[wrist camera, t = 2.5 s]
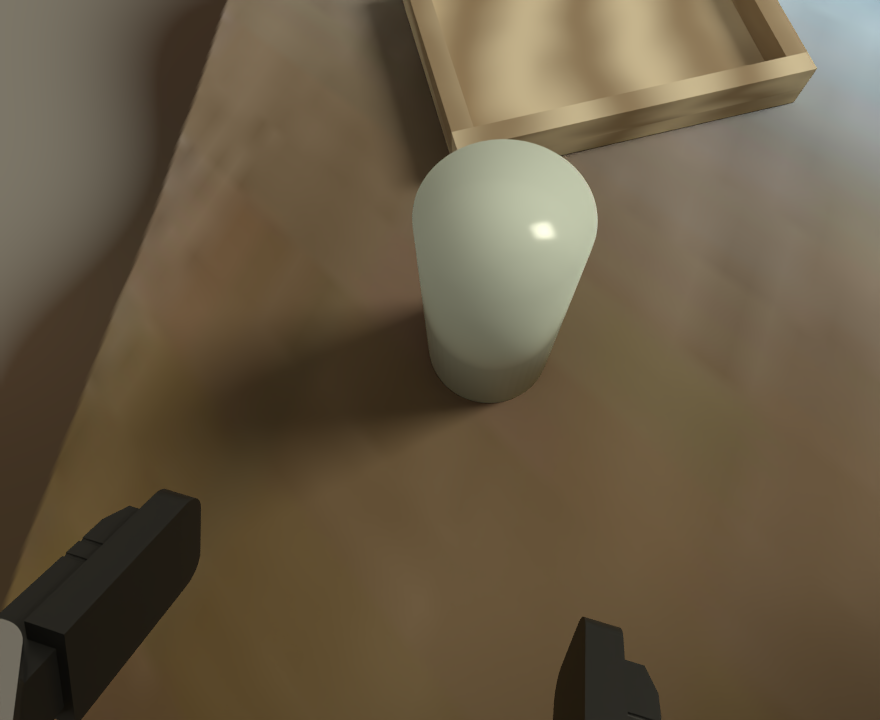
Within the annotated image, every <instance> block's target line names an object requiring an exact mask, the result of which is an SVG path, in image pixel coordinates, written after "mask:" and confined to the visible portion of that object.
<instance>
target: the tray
mask: <svg viewBox="0 0 880 720" xmlns="http://www.w3.org/2000/svg"><path fill="white" fill-rule="evenodd" d="M402 1H403V4H404V7H405V11H406V14H407V17H408V20H409V24H410V27H411V30H412V33H413V37H414V40H415V43H416V46H417V50H418V53H419V56H420V59H421V63H422V66H423V69H424V72H425V76H426V79H427V82H428V85H429V88H430V92H431V95H432V98H433V101H434V105H435V108H436V111H437V114H438V118H439V121H440V124H441V127H442V131H443V134H444V137H445V140H446V144H447V147H448V150H449V153H450V154H451V153H453V152H454V151H456V150H458V149H460V148H463V147H465V146H467V145H470V144H474V143H477V142H481V141H487V140H495V139H512V140H520V141H526V142H530V143H534V144H537V145H540V146H542V147H545V148H547V149H549V150H551V151H553V152H555V153H557V154H558V155H560V156H561V155H565V154H570V153H574V152H578V151H583V150H587V149H592V148H596V147H600V146H605V145H609V144H613V143H618V142H622V141H626V140H631V139H635V138H639V137H644V136H648V135H653V134H657V133H661V132H666V131H670V130H674V129H679V128H683V127H687V126H692V125H696V124H700V123H705V122H709V121H714V120H718V119H722V118H727V117H731V116H735V115H740V114H744V113H748V112H753V111H757V110H761V109H766V108H770V107H775V106H779V105H783V104H788V103H792V102H794V101H795V99H796V98H797V97H798V95H799V94H800V92H801V91H802V89H803V88H804V87H805V85H806V84H807V82H808V81H809V79H810V78H811V77H812V75H813V74H814V72H815V71H816V69H817V68H816V66H815V64H814V63H813V61H812V59H811V57H810V56H809V54H808V52H807V50H806V49H805V47H804V45H803V44H802V42H801V40H800V38H799V37H798V35H797V33H796V31H795V30H794V28H793V26H792V25H791V23H790V21H789V19H788V18H787V16H786V14H785V13H784V11H783V9H782V7H781V6H780V4H779V2H778V0H402Z"/></svg>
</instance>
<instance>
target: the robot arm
mask: <svg viewBox="0 0 880 720" xmlns="http://www.w3.org/2000/svg"><path fill="white" fill-rule="evenodd" d="M200 531H201V504H200V501H199V500H198V499H196V498H193V497H190V496H186V495H183V494H180V493H177V492H173V491H170V490H167V489H162V490H160V491H158V492H157V493H156V494H154V495H153V496H152V497H151V498H150V499H149V500H148V501H147V502H146V503H145V504H144V505H143V506H142V507H141V508H140V509H138V508H135V507H131V506H128V507H126V508H124V509H122V510H120V511H118V512H116V513H114V514H112V515H110V516H108V517H106V518H104V519H102V520H101V521H100V522H99V523H98V524H97V525H96V526H95V527H94V528H92V529H91V530H90V531H89V532H88V533H87V534H86V535H85V536H84V537H83V539H82V541H78V542H77V543H76V544H75V545H74V546H73V547H72V548H71V549H69V550H68V551H67V552H66V555H65V556H62V557H61V558H60V559H59V560H57V561H56V562H55V563H54V564H53V565H52V566H51V567H50V568H49V569H48V570H47V571H45V572H44V573H43V574H42V575H41V576H40V577H39V578H38V579H37V580H36V581H35V582H33V583H32V584H31V585H30V586H29V587H28V588H27V589H26V590H25V591H24V592H22V593H21V594H20V595H19V596H18V597H17V598H16V599H15V600H14V601H13V602H12V603H10V604H9V605H8V606H7V607H6V608H5V609H4V610H3V611H2V612H0V720H54V719H57V720H81V719H82V718H83V717H84V715H85V714H86V713H87V711H88V710H89V709H90V708H91V706H92V705H93V704H94V703H95V701H96V700H97V699H98V697H99V696H100V695H101V694H102V692H103V691H104V690H105V689H106V687H107V686H108V685H109V683H110V682H111V681H112V680H113V678H114V677H115V676H116V675H117V673H118V672H119V671H120V670H121V668H122V667H123V666H124V664H125V663H126V662H127V661H128V659H129V658H130V657H131V656H132V654H133V653H134V652H135V650H136V649H137V648H138V647H139V645H140V644H141V643H142V642H143V640H144V639H145V638H146V636H147V635H148V634H149V633H150V631H151V630H152V629H153V628H154V626H155V625H156V624H157V623H158V621H159V620H160V619H161V617H162V616H163V615H164V614H165V612H166V611H167V610H168V609H169V607H170V606H171V605H172V603H173V602H174V601H175V600H176V598H177V597H178V596H179V595H180V593H181V592H182V591H183V589H184V588H185V587H186V586H187V584H188V583H189V582H190V580H191V578H192V576H193V575H194V572H195V570H196V568H197V565H198V562H199V558H200ZM553 720H661V713H660V704H659V695H658V692H657V690H656V688H655V686H654V684H653V682H652V680H651V678H650V676H649V674H648V672H647V670H646V668H645V666H643V665H640V664H637V663H634V662H630V661H627V660H625V659H624V642H623V632H622V629H621V628H619V627H615V626H612V625H609V624H606V623H602V622H599V621H596V620H592V619H589V618H586V617H582V618H581V619H580V621H579V623H578V626H577V628H576V631H575V633H574V636H573V638H572V641H571V643H570V646H569V648H568V651H567V653H566V656H565V659H564V661H563V664H562V666H561V669H560V672H559V676H558V680H557V685H556V690H555V698H554V712H553Z"/></svg>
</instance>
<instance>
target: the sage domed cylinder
mask: <svg viewBox="0 0 880 720" xmlns="http://www.w3.org/2000/svg"><path fill="white" fill-rule="evenodd" d="M412 220H413V232H414V240H415V247H416V255H417V263H418V270H419V278H420V286H421V294H422V301H423V309H424V317H425V324H426V332H427V340H428V348H429V354H430V360H431V363H432V366H433V368H434V370H435V372H436V374H437V376H438V377H439V378H440V380H441V381H442V382H443V383H444V384H445V386H447V387H448V388H449V389H450V390H451V391H453V392H454V393H456V394H457V395H459V396H461V397H463V398H465V399H468V400H471V401H475V402H480V403H498V402H503V401H507V400H510V399H513V398H515V397H517V396H519V395H521V394H522V393H524V392H525V391H527V390H528V389H529V388H530V387H531V386H532V385H533V384H534V383H535V382H536V381H537V379H538V378H539V376H540V375H541V373H542V371H543V369H544V367H545V364H546V362H547V359H548V357H549V354H550V352H551V349H552V347H553V344H554V342H555V339H556V337H557V334H558V332H559V329H560V327H561V324H562V322H563V319H564V317H565V314H566V312H567V309H568V307H569V304H570V302H571V299H572V297H573V294H574V292H575V289H576V287H577V284H578V282H579V279H580V277H581V274H582V272H583V269H584V267H585V264H586V262H587V259H588V257H589V254H590V252H591V249H592V247H593V244H594V241H595V238H596V232H597V209H596V204H595V200H594V197H593V194H592V192H591V190H590V188H589V186H588V184H587V183H586V181H585V179H584V178H583V176H582V175H581V174H580V173H579V172H578V171H577V169H576V168H575V167H574V166H573V165H571V164H570V163H569V162H568V161H567V160H566V159H564V158H563V157H561V156H560V155H558V154H557V153H555V152H553V151H551V150H549V149H547V148H545V147H542V146H540V145H537V144H534V143H530V142H526V141H520V140H512V139H495V140H487V141H481V142H477V143H474V144H470V145H467V146H465V147H463V148H460V149H458V150H456V151H454V152H453V153H451V154H449V155H448V156H446V157H445V158H444V159H442V160H441V161H440V162H439V163H438V164H436V165H435V166H434V167H433V168H432V169H431V171H430V172H429V173H428V174H427V176H426V177H425V179H424V180H423V182H422V183H421V185H420V187H419V190H418V192H417V194H416V197H415V201H414V205H413V214H412Z"/></svg>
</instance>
